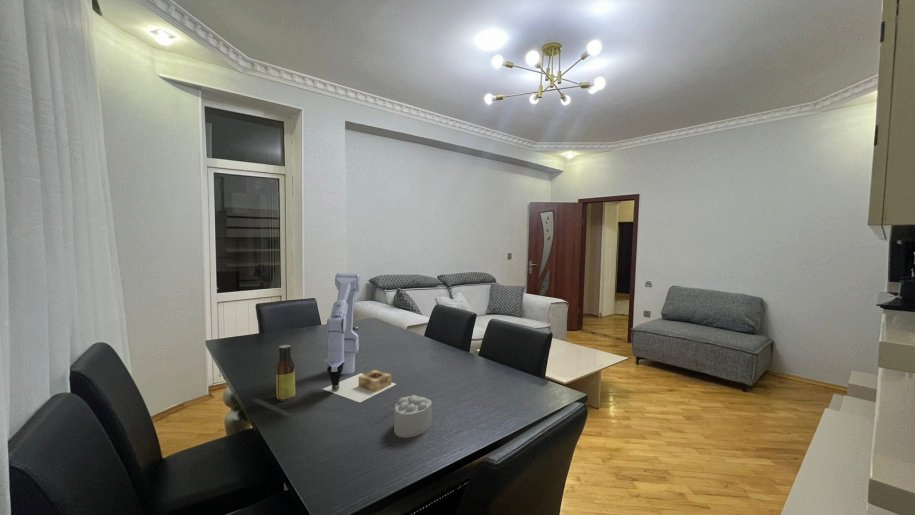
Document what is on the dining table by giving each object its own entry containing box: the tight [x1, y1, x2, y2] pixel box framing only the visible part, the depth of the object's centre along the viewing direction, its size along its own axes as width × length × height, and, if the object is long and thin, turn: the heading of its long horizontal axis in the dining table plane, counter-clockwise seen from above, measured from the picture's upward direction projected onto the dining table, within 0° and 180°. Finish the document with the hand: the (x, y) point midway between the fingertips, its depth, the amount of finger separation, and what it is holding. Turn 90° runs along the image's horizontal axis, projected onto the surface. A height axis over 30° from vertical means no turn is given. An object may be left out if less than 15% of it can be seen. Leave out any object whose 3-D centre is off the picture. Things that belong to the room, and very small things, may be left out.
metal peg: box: [332, 379, 340, 390], centre depth 138 cm, size 3×3×8 cm
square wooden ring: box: [359, 369, 392, 392], centre depth 144 cm, size 9×9×4 cm
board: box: [322, 373, 397, 403], centre depth 142 cm, size 20×20×1 cm
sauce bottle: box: [275, 344, 296, 402], centre depth 131 cm, size 7×6×20 cm
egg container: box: [393, 394, 433, 438], centre depth 115 cm, size 10×13×9 cm
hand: (335, 383), depth 138 cm, fingers closed on metal peg, 3 cm apart
